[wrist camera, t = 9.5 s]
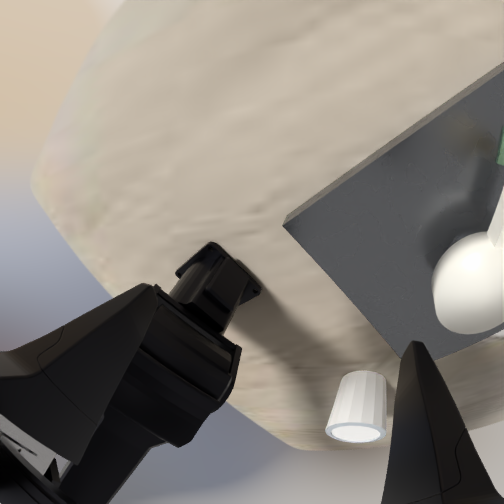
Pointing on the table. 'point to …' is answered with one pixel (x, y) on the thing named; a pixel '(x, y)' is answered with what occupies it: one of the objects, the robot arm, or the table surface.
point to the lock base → (411, 215)
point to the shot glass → (359, 408)
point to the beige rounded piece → (472, 280)
